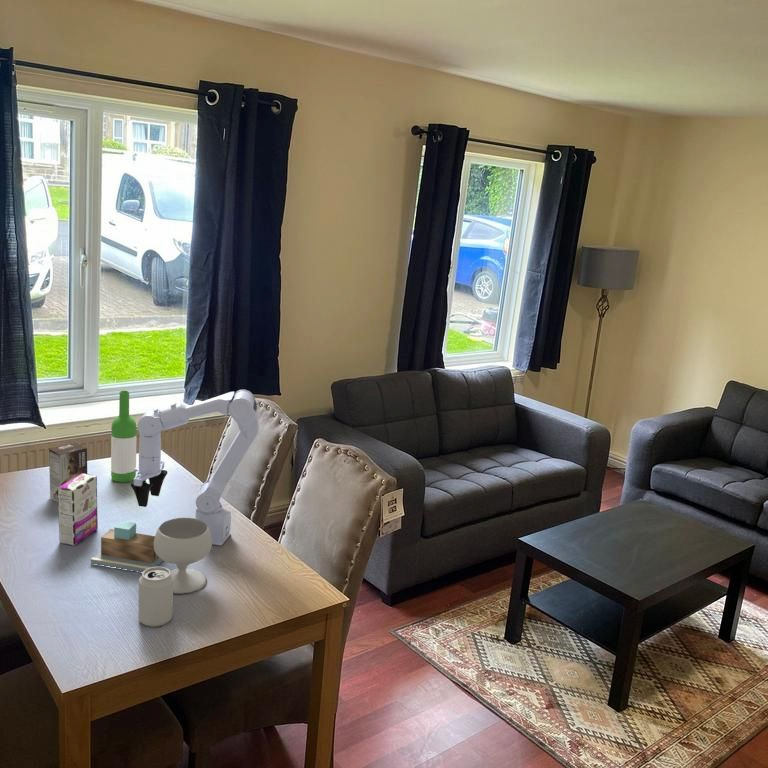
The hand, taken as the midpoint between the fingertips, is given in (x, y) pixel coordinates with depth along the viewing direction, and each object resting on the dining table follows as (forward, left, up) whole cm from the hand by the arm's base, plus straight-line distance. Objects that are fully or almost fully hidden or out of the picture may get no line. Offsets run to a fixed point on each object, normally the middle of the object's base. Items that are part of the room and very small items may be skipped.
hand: (148, 500), depth 205 cm
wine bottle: (+25, -34, -11) cm, 44 cm away
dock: (-2, +15, -10) cm, 18 cm away
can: (-20, +38, -11) cm, 44 cm away
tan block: (-2, +15, -9) cm, 17 cm away
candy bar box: (+17, +7, -11) cm, 21 cm away
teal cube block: (0, +14, -4) cm, 15 cm away
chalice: (-19, +21, -11) cm, 30 cm away
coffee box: (+33, -15, -11) cm, 38 cm away
